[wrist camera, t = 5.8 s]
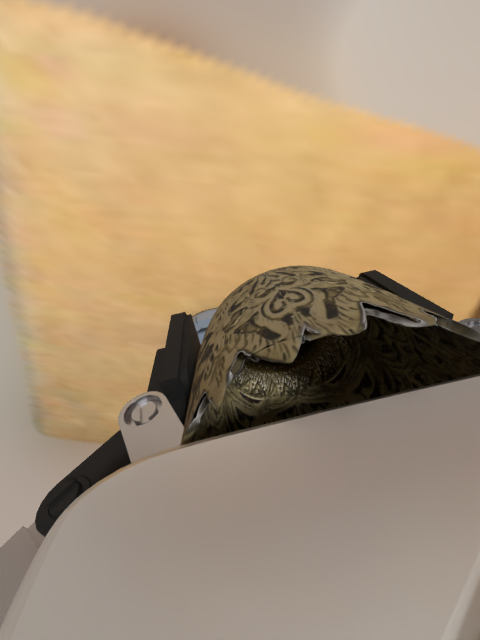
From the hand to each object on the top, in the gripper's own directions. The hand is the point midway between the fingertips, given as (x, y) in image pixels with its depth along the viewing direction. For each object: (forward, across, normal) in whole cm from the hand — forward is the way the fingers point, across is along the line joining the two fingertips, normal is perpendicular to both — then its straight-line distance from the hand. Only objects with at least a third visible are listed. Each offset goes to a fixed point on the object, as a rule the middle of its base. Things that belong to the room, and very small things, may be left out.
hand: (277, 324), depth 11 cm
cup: (+2, 0, 0) cm, 2 cm away
